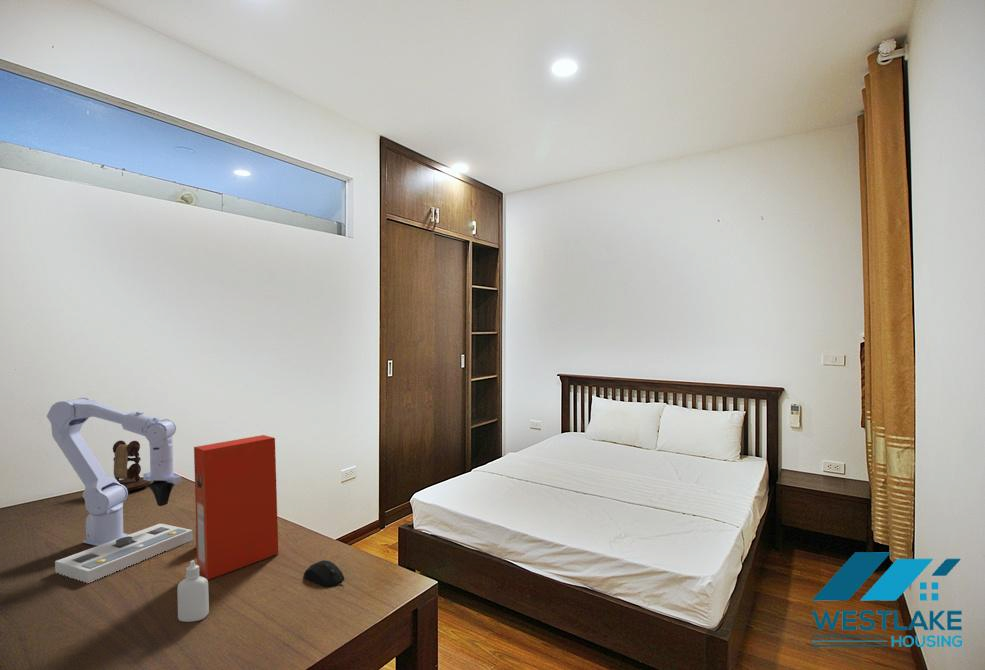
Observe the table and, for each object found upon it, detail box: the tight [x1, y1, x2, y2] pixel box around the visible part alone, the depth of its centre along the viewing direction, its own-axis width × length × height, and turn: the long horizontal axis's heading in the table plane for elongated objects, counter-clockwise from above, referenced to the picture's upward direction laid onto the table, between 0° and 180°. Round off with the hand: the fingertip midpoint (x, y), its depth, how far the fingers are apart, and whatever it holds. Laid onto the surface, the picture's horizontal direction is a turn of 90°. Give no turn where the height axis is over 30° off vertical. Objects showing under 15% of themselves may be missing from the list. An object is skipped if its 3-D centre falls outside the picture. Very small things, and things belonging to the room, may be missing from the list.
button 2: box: [151, 528, 165, 535], centre depth 139 cm, size 4×4×2 cm
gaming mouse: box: [303, 560, 345, 588], centre depth 114 cm, size 6×15×4 cm, turn 54°
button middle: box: [116, 536, 132, 548], centre depth 131 cm, size 4×4×2 cm
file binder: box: [193, 434, 279, 580], centre depth 124 cm, size 8×17×32 cm, turn 139°
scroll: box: [112, 440, 151, 493], centre depth 189 cm, size 15×15×20 cm
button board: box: [54, 523, 194, 584], centre depth 130 cm, size 15×26×3 cm, turn 157°
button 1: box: [77, 554, 95, 563], centre depth 122 cm, size 4×4×2 cm
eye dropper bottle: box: [176, 560, 210, 623], centre depth 99 cm, size 4×6×12 cm
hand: (162, 504), depth 143 cm, fingers closed
